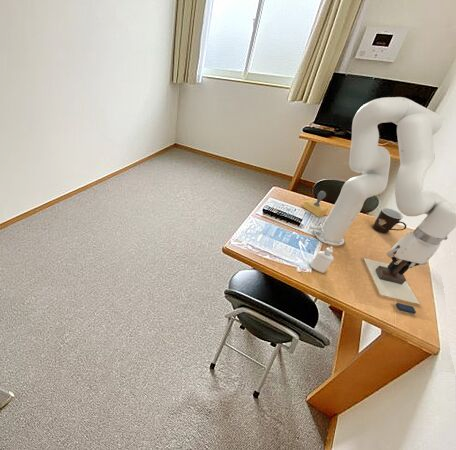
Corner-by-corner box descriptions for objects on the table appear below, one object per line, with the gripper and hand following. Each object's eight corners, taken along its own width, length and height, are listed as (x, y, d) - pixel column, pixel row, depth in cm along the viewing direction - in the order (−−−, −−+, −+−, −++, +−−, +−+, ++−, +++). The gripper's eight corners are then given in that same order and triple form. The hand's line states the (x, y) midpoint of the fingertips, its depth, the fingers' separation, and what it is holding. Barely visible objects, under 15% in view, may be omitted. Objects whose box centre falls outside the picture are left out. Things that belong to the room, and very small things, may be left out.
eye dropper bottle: (319, 274, 107) (333, 253, 100) (308, 264, 111) (321, 243, 104) (327, 272, 109) (342, 250, 101) (315, 262, 113) (329, 241, 105)
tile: (379, 296, 101) (380, 294, 101) (362, 259, 117) (363, 258, 116) (418, 305, 99) (420, 304, 98) (395, 267, 114) (397, 265, 114)
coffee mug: (366, 223, 139) (377, 207, 133) (382, 224, 139) (395, 208, 133) (380, 238, 130) (393, 221, 124) (397, 239, 130) (411, 223, 124)
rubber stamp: (302, 206, 147) (311, 187, 139) (309, 204, 149) (319, 185, 142) (318, 217, 140) (329, 197, 132) (325, 214, 142) (336, 195, 135)
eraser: (396, 311, 96) (400, 308, 95) (393, 305, 98) (397, 302, 97) (412, 315, 95) (416, 312, 94) (409, 309, 97) (413, 306, 96)
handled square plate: (379, 279, 107) (395, 262, 101) (375, 269, 110) (390, 253, 104) (401, 284, 105) (419, 268, 99) (396, 275, 109) (413, 258, 103)
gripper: (448, 234, 95) (413, 269, 107) (397, 223, 98) (368, 259, 110) (460, 248, 90) (422, 284, 101) (406, 236, 93) (374, 272, 104)
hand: (394, 270), depth 105 cm, fingers closed on handled square plate, 2 cm apart
